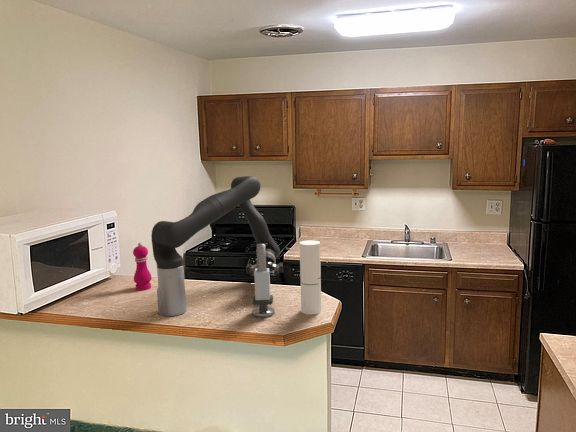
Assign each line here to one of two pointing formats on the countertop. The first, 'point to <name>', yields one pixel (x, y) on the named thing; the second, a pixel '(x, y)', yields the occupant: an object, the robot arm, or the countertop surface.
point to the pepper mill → (141, 268)
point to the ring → (263, 301)
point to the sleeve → (262, 285)
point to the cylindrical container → (310, 277)
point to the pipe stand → (261, 263)
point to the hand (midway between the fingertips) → (263, 273)
